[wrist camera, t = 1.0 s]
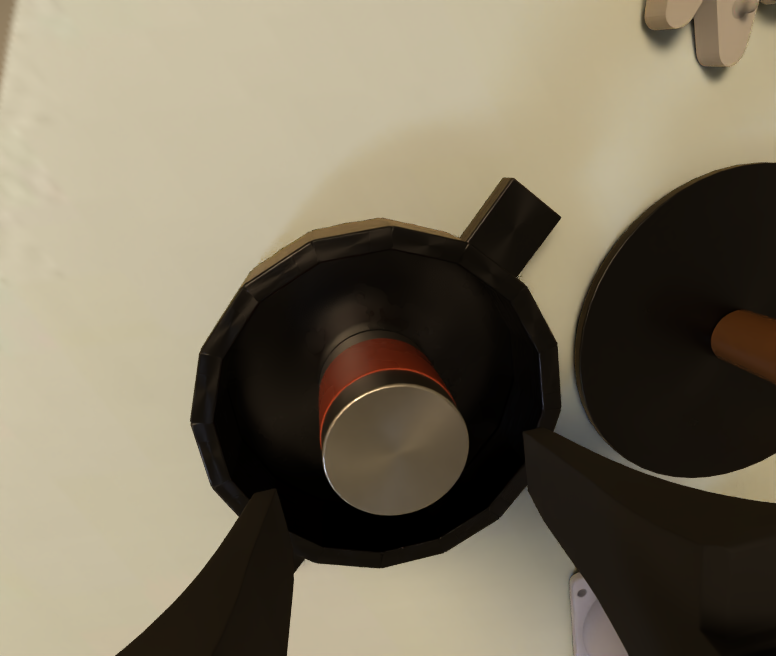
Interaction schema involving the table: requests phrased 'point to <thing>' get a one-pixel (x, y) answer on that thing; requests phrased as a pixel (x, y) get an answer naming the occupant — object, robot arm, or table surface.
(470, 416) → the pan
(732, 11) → the game controller
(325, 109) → the table surface
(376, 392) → the can
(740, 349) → the pan lid
